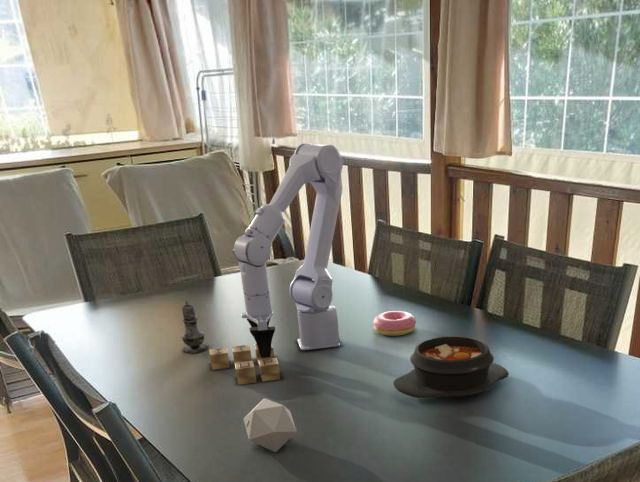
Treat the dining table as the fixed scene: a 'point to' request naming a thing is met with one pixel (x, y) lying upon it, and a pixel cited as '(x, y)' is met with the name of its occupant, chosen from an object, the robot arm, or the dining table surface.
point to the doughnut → (394, 323)
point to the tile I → (219, 358)
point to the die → (270, 425)
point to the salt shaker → (192, 330)
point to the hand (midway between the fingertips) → (264, 351)
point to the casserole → (450, 369)
